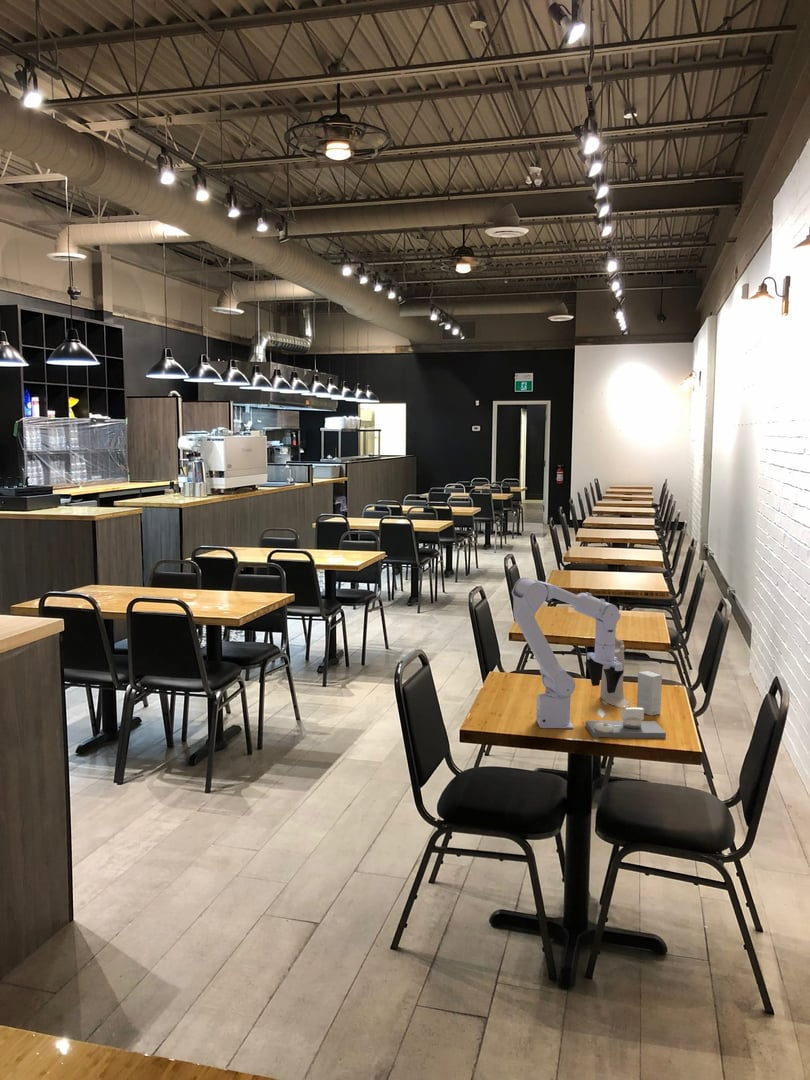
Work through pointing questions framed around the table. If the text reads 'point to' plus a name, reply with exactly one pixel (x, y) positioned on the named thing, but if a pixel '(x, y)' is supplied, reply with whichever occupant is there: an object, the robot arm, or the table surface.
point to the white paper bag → (618, 696)
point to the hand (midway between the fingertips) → (603, 689)
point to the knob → (632, 717)
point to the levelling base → (624, 730)
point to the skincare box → (649, 692)
